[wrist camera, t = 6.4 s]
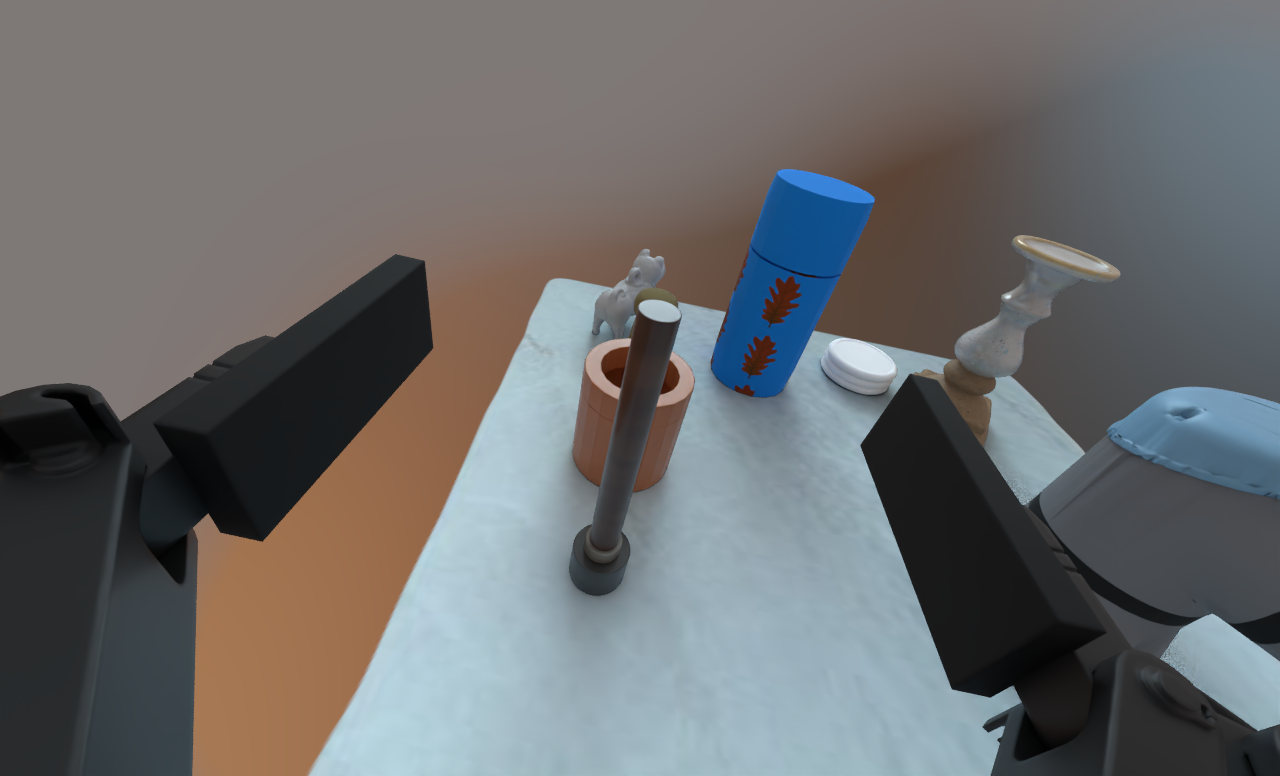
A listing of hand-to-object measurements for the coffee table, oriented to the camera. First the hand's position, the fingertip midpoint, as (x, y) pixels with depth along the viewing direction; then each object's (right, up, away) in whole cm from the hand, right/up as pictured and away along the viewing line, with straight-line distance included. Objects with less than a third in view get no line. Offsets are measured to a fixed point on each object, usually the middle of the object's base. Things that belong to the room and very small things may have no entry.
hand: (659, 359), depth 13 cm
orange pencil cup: (-3, -8, +35) cm, 36 cm away
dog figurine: (-3, +8, +55) cm, 55 cm away
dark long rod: (-4, -15, +25) cm, 29 cm away
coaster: (+31, +1, +56) cm, 64 cm away
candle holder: (+41, -5, +52) cm, 67 cm away
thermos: (+14, +1, +51) cm, 53 cm away
